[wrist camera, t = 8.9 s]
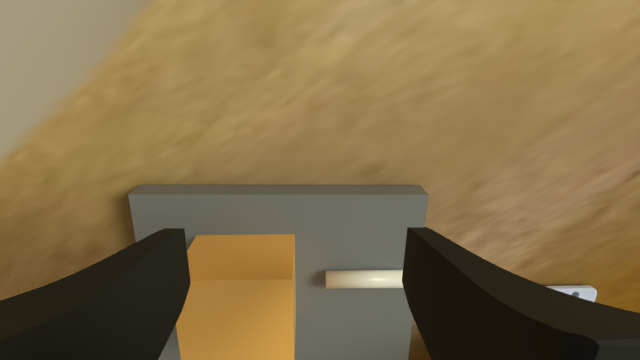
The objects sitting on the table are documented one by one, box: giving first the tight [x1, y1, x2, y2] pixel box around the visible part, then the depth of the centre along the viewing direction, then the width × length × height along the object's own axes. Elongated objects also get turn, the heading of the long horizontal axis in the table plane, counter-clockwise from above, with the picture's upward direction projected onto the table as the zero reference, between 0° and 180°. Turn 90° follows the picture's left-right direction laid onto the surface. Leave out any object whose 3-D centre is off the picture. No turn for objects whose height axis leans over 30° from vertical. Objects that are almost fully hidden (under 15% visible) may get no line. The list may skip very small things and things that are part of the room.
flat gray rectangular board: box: [128, 185, 428, 360], centre depth 21 cm, size 16×12×4 cm
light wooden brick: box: [176, 234, 296, 360], centre depth 19 cm, size 5×5×4 cm
